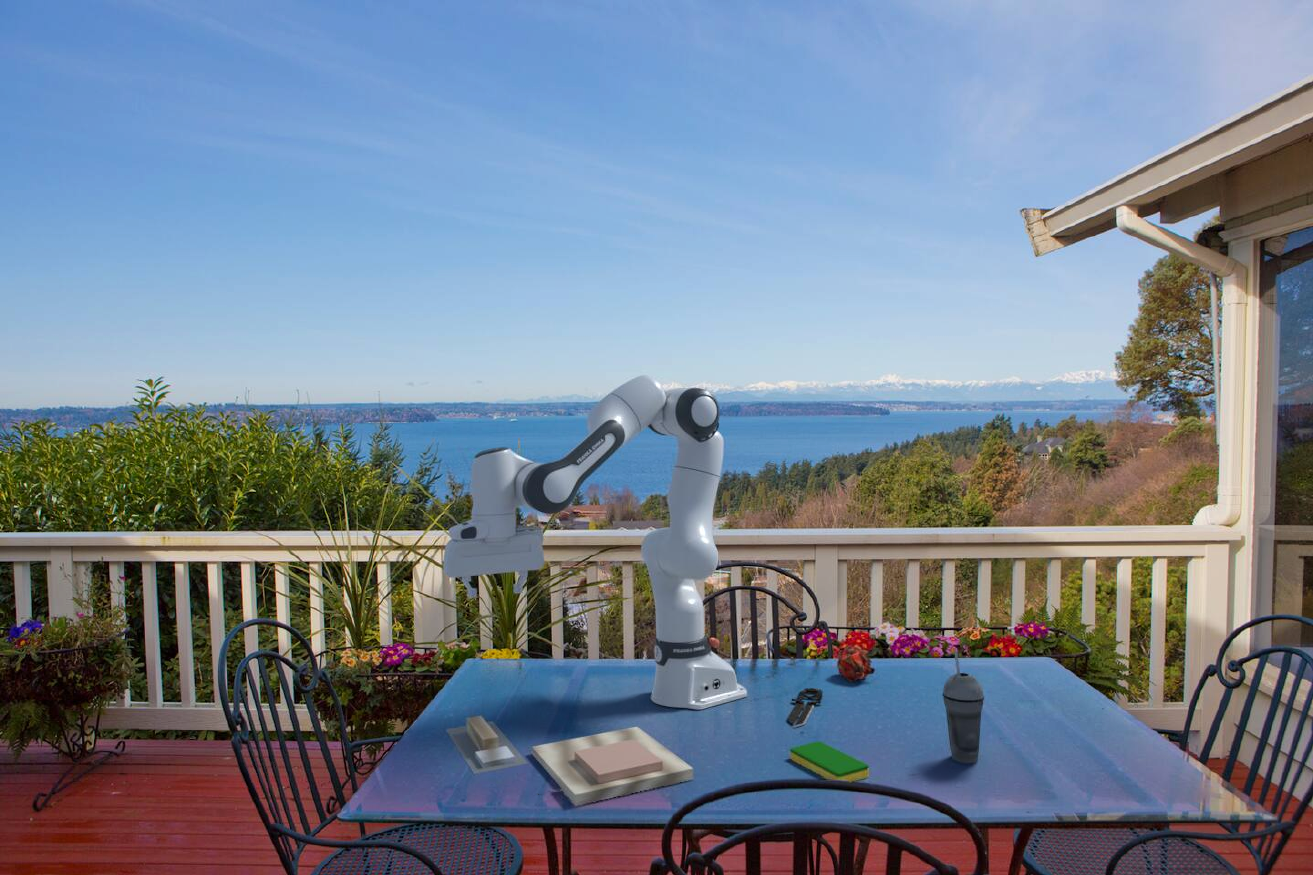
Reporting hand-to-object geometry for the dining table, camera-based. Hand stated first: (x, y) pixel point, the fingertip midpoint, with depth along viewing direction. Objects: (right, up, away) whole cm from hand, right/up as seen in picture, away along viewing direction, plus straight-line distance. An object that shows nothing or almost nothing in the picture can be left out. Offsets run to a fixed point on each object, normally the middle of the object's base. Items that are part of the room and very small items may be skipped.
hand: (495, 595), depth 166 cm
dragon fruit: (+82, -28, +35) cm, 93 cm away
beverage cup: (+89, -27, -16) cm, 95 cm away
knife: (+66, -28, +13) cm, 73 cm away
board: (+24, -28, -16) cm, 41 cm away
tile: (+23, -26, -15) cm, 38 cm away
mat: (-1, -29, -5) cm, 30 cm away
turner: (-1, -28, -6) cm, 29 cm away
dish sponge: (+64, -28, -18) cm, 72 cm away
